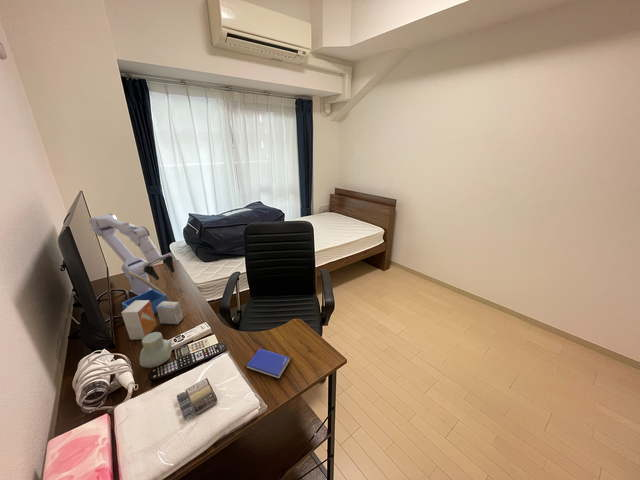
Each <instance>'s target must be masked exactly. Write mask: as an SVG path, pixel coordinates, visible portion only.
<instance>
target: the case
mask: <svg viewBox="0 0 640 480" xmlns="http://www.w3.org/2000/svg"><path fill="white" fill-rule="evenodd" d="M135 300H150V302H151V306H152V310H153V313H154V314H157V313H158V312H157V309H156V307H157V306H158V305H159V304H160V303H161V302H163V301H167V302H169V301H168V297H167V294H166V295H164V294H162V293H160V292H158V291H156V290H153V289H151V290H149V291H147V292H145V293H142V294H140V295H136V296H134V297H131V298H129V299H127V300H125V301H122V302H120V305H121V307H122V311H124V310H125V309H126V308H127V307H128V306H129V305H130V304H131V303H133V302H134V301H135Z"/></svg>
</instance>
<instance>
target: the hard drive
mask: <svg viewBox="0 0 640 480" xmlns="http://www.w3.org/2000/svg"><path fill="white" fill-rule="evenodd" d="M290 361H291V357H289V356H286V355H282V354H279V353H276V352H272V351H270V350H266V349H263V348H259V349H257V351H256V352H255V354H254V355H253V356H252V357H251V359H250V360H249V361H248V362H247V364H246V369H249V370H252V371H255V372H259V373H261V374H264V375H267V376H270V377H274V378H276V379H280V378H281V376H282V374H283V373H284V371H285V370H286V367H287V366H288V364H289V363H290Z"/></svg>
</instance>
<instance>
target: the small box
mask: <svg viewBox="0 0 640 480" xmlns="http://www.w3.org/2000/svg"><path fill="white" fill-rule="evenodd" d="M121 316H122V319H123V322H124V325H125V328H126V331H127V334H128V337H129V340H132V341H133V340H142V339H143V338H144V337H145V336H146V335H148V334H150V333H153V331H154V330H155V329H156V328H157V327H158V324H157V321H156V317H155V313H153V310H152V306H151V302H150V300H135V301H134V302H133V303H131V304H130V305H129V306H128V307H127V308H126V309H125V310H122V311H121Z"/></svg>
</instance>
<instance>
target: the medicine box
mask: <svg viewBox="0 0 640 480" xmlns="http://www.w3.org/2000/svg"><path fill="white" fill-rule="evenodd" d="M156 309H157V312H156V313H157V315H158V318H159V322H160V324H166V325H167V324H168V325H179V324H180V322H182V321H183V319H184V315H183V314H184V313H183V311H182V306H181V304H180V302H179V301H168V302H167V301H163V302H161V303H160V304H159V305H158V306H157V307H156Z"/></svg>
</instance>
